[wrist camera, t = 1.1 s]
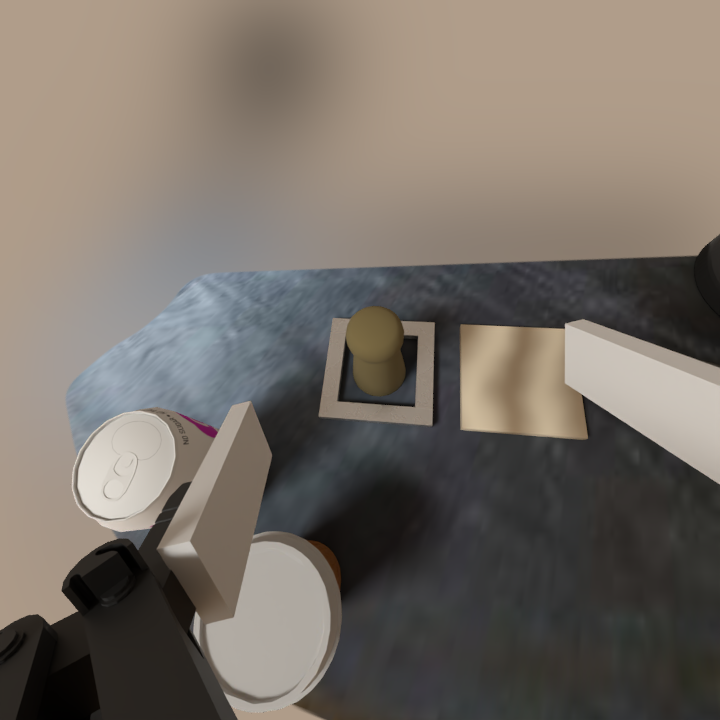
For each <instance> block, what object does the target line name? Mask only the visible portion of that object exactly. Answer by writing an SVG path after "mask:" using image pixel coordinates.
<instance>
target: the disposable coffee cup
mask: <svg viewBox="0 0 720 720" xmlns="http://www.w3.org/2000/svg"><path fill="white" fill-rule="evenodd" d="M340 586H341V571H340V566H339V564H338V561H337V558H336V557H335V555H334V553H333V552H332V551H331V550H330V549H329V548H328V547H327V546H325V545H324V544H322V543H320V542H317V541H312V540H305V539H303V538H301V537H298V536H296V535H294V534H291V533H286V532H280V531H274V532H263V533H260V534H256V535H253V539H252V543H251V547H250V552H249V556H248V560H247V564H246V569H245V573H244V577H243V581H242V585H241V590H240V594H239V598H238V602H237V607H236V611H235V615H234V618H230V619H226V620H222V621H217V622H213V623H209V624H205V625H204V623H203V621H202V620H201V618H200V617H199V615H198V614H197V612H196V613H195V620H194V635H195V637H196V639H197V641H198V643H199V645H200V647H201V649H202V651H203V653H204V655H205V657H206V659H207V661H208V663H209V665H210V667H211V669H212V671H213V673H214V674H215V676H216V678H217V680H218V682H219V684H220V686H221V688H222V690H223V692H224V694H225V696H226V698H227V700H228V702H229V704H230V706H232V707H234V708H236V709H238V710H242V711H246V712H266V711H271V710H279V709H281V708H284V707H286V706H288V705H291V704H293V703H295V702H298V701H299V700H300V699H301V698H303V697H304V696H305V695H306V694H308V693H309V692H310V691H311V690H312V689H313V688H314V687H315V686H316V684H317V683H318V682H319V681H320V680H321V679H322V677H323V676H324V674H325V672H326V670H327V668H328V667H329V665H330V663H331V661H332V659H333V656H334V653H335V650H336V647H337V644H338V641H339V636H340V629H341V621H342V607H341V596H340Z"/></svg>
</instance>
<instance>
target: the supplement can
mask: <svg viewBox="0 0 720 720" xmlns="http://www.w3.org/2000/svg"><path fill="white" fill-rule="evenodd" d="M218 432H219V429H217V428H214V427H212V426H209V425H207V424H204V423H202V422H199V421H197V420H194V419H192V418H189V417H187V416H184V415H182V414H179V413H177V412H174V411H170V410H166V409H162V408H158V407H156V408H148V409H141V410H137V411H134V412H127V413H122V414H120V415H118V416H116V417H114V418H112V419H110V420H107V421H106V422H105V423H104V424H102V425H101V426H100V427H99V428H98V429H97V430H95V431H94V432H93V433H92V434H91V435H90V437H89V438H88V440H87V441H86V442H85V444H84V445H83V447H82V448H81V450H80V451H79V454H78V457H77V459H76V462H75V465H74V468H73V473H72V474H73V475H72V491H73V494H74V497H75V500H76V503H77V506H78V507H79V508H80V509H81V510H82V511H83V512H84V513H85V514H86V515H87V516H88V517H89V518H92V519H95V520H96V521H97V522H98V523H100V525H101V526H104V527H107V528H110V529H113V530H116V531H119V532H124V531H132V530H141V529H149V528H152V526H153V525H155V521H156V519H157V517H158V516H159V514H160V513H162V509H163V507H164V505H165V504H166V502H167V500H168V498H169V497H170V496H171V495H172V494H173V493H174V492H175V491H176V490H177V489H178V488H179V487H180V486H181V485H182V484H183V483H187V482H191V481H193V479H194V477H195V475H196V473H197V472H198V470H199V468H200V466H201V464H202V462H203V460H204V458H205V456H206V454H207V453H208V451H209V449H210V447H211V445H212V443H213V441H214V439H215V437H216V435H217V434H218Z"/></svg>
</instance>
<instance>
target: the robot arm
mask: <svg viewBox="0 0 720 720" xmlns="http://www.w3.org/2000/svg"><path fill="white" fill-rule="evenodd" d="M695 279H696V283H697V286H698V288H699V291H700V293H701V294H702V296H703V298H704V299H705V301H706V302H707V303H708V304H709V306H710V307H711V308H712V309H713V310H714V311H715V312H716V313H717V314H718V315H719V316H720V235H719V236H717V237H716V238H715V239H713V240H712V241H711V242H710V243H709V244H707V245H706V246H705V247H704V248H703V249H702V251H701V252H700V253H699V255H698V257H697V259H696V263H695ZM565 384H567V385H568V386H570V387H571V388H573V389H574V390H576V391H578V392H579V393H581V394H582V395H584V396H585V397H587V398H588V399H590V400H591V401H593V402H594V403H596V404H597V405H599V406H600V407H602V408H604V409H605V410H607V411H608V412H610V413H611V414H613V415H614V416H616V417H617V418H619V419H620V420H622V421H623V422H625V423H627V424H628V425H630V426H631V427H633V428H634V429H636V430H637V431H639V432H640V433H642V434H643V435H645V436H646V437H648V438H649V439H651V440H653V441H654V442H656V443H657V444H659V445H660V446H662V447H663V448H665V449H666V450H668V451H669V452H671V453H672V454H674V455H676V456H677V457H679V458H680V459H682V460H683V461H685V462H686V463H688V464H689V465H691V466H692V467H694V468H695V469H697V470H698V471H700V472H702V473H703V474H705V475H706V476H708V477H709V478H711V479H712V480H714V481H715V482H717V483H718V484H720V365H717V364H714V363H711V362H707V361H701V360H696V359H693V358H691V357H688V356H685V355H682V354H679V353H677V352H674V351H671V350H668V349H665V348H663V347H660V346H657V345H654V344H651V343H649V342H646V341H643V340H640V339H637V338H635V337H632V336H629V335H626V334H623V333H621V332H618V331H615V330H612V329H609V328H607V327H604V326H601V325H598V324H595V323H593V322H590V321H587V320H584V319H582V320H578V321H574V322H570V323H566V324H565ZM271 459H272V453H271V451H270V448H269V446H268V443H267V440H266V438H265V435H264V433H263V430H262V428H261V425H260V423H259V420H258V418H257V415H256V413H255V410H254V408H253V405H252V403H251V401H248V402H244V403H240V404H236V405H232V407H231V409H230V411H229V413H228V415H227V417H226V418H225V420H224V422H223V424H222V426H221V428H220V430H219V432H218V434H217V435H216V437H215V439H214V441H213V443H212V445H211V447H210V449H209V451H208V453H207V454H206V456H205V458H204V460H203V462H202V464H201V466H200V468H199V470H198V472H197V473H196V475H195V477H194V479H193V481H191V482H187V483H183V484H182V485H181V486H180V487H179V488H178V489H177V490H176V491H175V492H174V493H173V494H172V495H171V496H170V497H169V498H168V500H167V502H166V504H165V505H164V507H163V509H162V513H160V514H159V516H158V517H157V519H156V521H155V525H153V526H152V528H151V529H150V531H149V533H148V535H147V536H146V538H145V540H144V541H143V543H142V545H141V547H140V548H139V550H137V549H136V547H135V546H134V544H133V543H132V542H131V541H130V540H129V539H116V540H114V541H110V542H107V543H105V544H104V545H102V546H100V547H98V548H96V549H95V550H93V551H92V552H90V553H89V554H88V555H87V556H85V557H84V558H83V559H81V560H80V561H79V562H78V564H77V565H76V566H75V567H74V568H73V569H72V570H71V571H70V572H69V574H68V575H67V577H66V579H65V580H64V582H63V586H62V592H63V593H64V594H65V596H66V597H67V598H68V599H69V600H70V601H71V603H72V604H73V605H74V606H75V608H76V609H77V610H78V612H76V613H74V614H72V615H70V616H68V617H66V618H64V619H62V620H60V621H58V622H56V623H54V624H52V625H49V624H48V623H47V622H46V621H45V619H44V618H42V617H41V616H39V615H38V614H37V615H28V616H26V617H23V618H21V619H19V620H17V621H14V622H13V623H11V624H10V625H8V626H7V627H5V628H4V629H2V630H0V720H237V717H236V716H235V714H234V712H233V710H232V708H231V706H230V704H229V702H228V700H227V698H226V696H225V694H224V692H223V690H222V688H221V686H220V684H219V682H218V680H217V678H216V676H215V674H214V673H213V671H212V669H211V667H210V665H209V663H208V661H207V659H206V657H205V655H204V653H203V651H202V649H201V647H200V645H199V643H198V641H197V639H196V637H195V635H194V634H193V632H192V631H191V629H190V625H191V622H192V619H193V616H194V613H195V610H196V612H197V614H198V615H199V617H200V618H201V620H202V621H203V623H204V625H205V624H209V623H213V622H217V621H222V620H226V619H230V618H234V615H235V611H236V607H237V602H238V598H239V594H240V590H241V585H242V581H243V577H244V573H245V569H246V564H247V560H248V556H249V552H250V547H251V543H252V539H253V535H254V530H255V526H256V522H257V518H258V514H259V509H260V505H261V501H262V497H263V492H264V488H265V484H266V480H267V475H268V471H269V467H270V463H271Z"/></svg>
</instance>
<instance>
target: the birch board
mask: <svg viewBox="0 0 720 720" xmlns="http://www.w3.org/2000/svg"><path fill="white" fill-rule="evenodd" d="M460 420H461V430H468V431H480V432H493V433H505V434H517V435H530V436H542V437H554V438H567V439H579V440H585V439H588V435H587V428H586V421H585V414H584V407H583V400H582V394H581V393H579V392H578V391H576V390H574V389H573V388H571V387H570V386H568V385H567V384H565V329H554V328H531V327H508V326H485V325H462V324H461V326H460Z"/></svg>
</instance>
